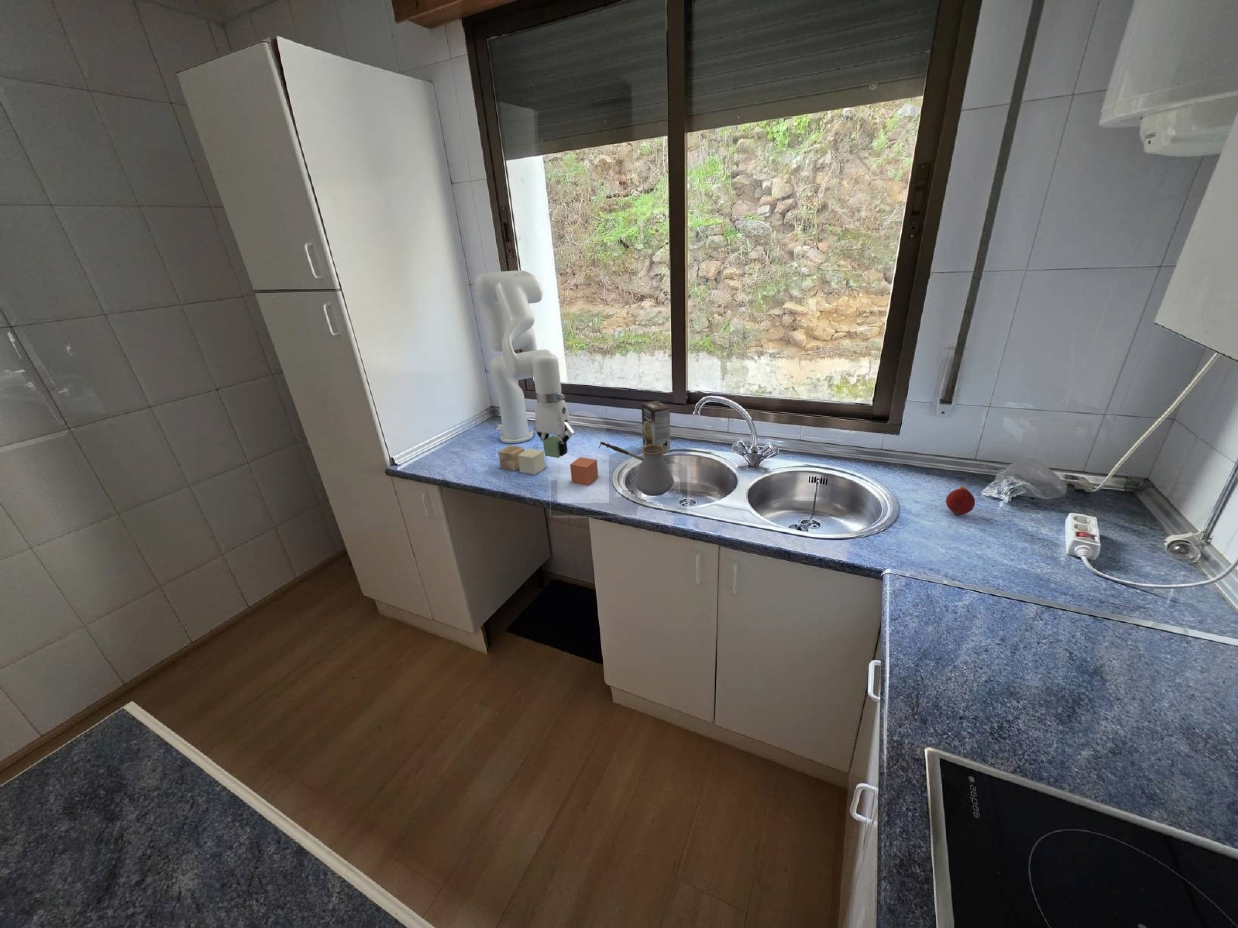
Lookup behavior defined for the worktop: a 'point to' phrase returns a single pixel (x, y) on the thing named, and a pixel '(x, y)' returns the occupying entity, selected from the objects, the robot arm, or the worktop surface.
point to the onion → (960, 501)
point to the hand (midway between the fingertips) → (555, 452)
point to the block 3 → (584, 470)
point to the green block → (552, 446)
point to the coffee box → (656, 424)
